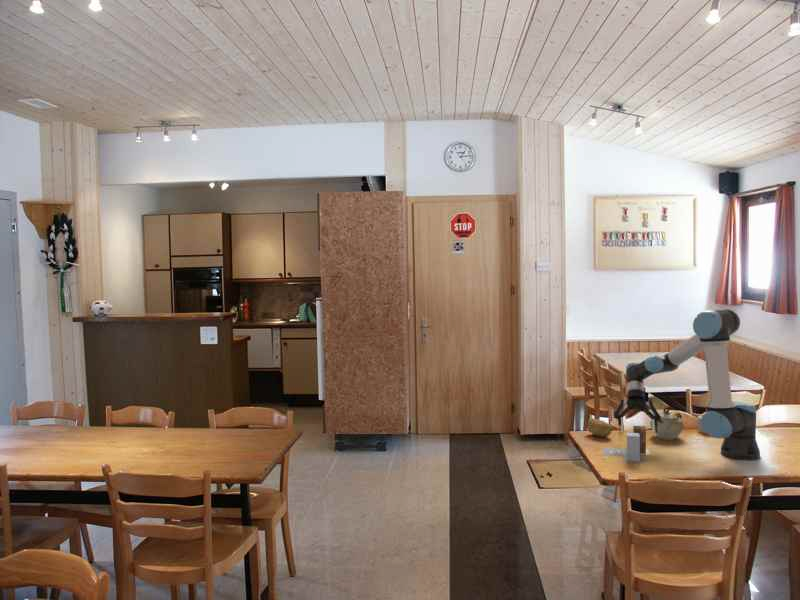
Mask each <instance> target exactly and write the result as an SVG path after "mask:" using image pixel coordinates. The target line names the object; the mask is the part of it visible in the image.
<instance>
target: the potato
mask: <svg viewBox="0 0 800 600" xmlns="http://www.w3.org/2000/svg"><path fill="white" fill-rule="evenodd" d="M612 427H613V426H612V425H611V424H610V423H609V422H606V421H604V420H601V419H598V418H590V419H588V420H587V428H588V429H587V430H588V431H589V432H590V433H591V434H592V435H593V436H595V437H599V438H600V437H601V438H606V437H608V436H610V435H611V433H612V432H613V428H612Z"/></svg>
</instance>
